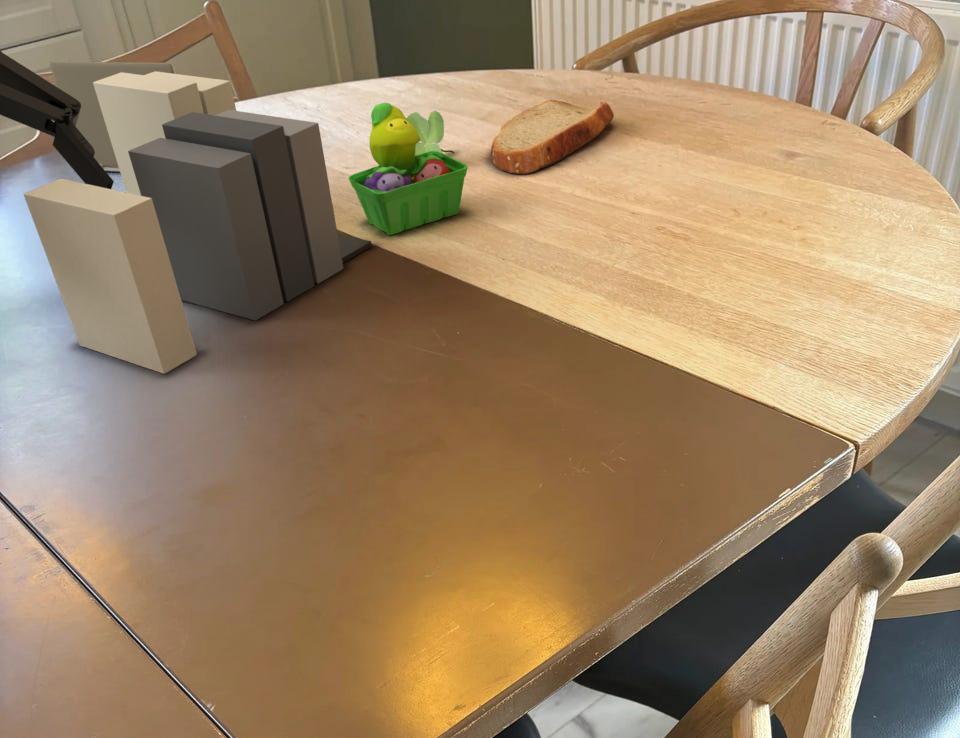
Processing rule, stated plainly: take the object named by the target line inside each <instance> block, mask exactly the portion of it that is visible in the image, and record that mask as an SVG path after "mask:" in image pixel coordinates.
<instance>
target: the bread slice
mask: <svg viewBox="0 0 960 738" xmlns="http://www.w3.org/2000/svg"><path fill="white" fill-rule="evenodd" d="M599 103H600V104H599V106H597V107H594V108H586V107H582V106H578V105H574V104H572V103H569V102H565V101H562V100H557V99H547V100H546V101H543V102H542V103H539V104H537V105H535V106H532V107H530V108H528V109H526V110H522V111H521V112H520V113H519V114H516V115H514V117H512V119H509V120H507V121H506V122H505V123H503V125H502V126H501V127H500V132H499V133H498V134H497V135H496V136H495V137H494V138H493V140H492V144H491V149H490V159H491V162H492V164H493V165H494V166H495V167H496V168H498V169H499V170H501V171H503V172H507V173H509V174H517V175H526V174H531V173H534V172H537V171H539V170H540V169H543V168H546V167H548V166H550V165H554V164H555V163H556V162H558V161H561V160H563V159H564V158H565V156H566V157H567V156H569V155H571V154H572V153H573V152H575V151H578V150H579V149H581V148H582V147H583V146H585V145H587V144H588V143H589V142H590V141H592V140H594V139H596V138H597V137H598V136H599V135H600V134H601V133H602V131H604V129H605V128H606V127H607V125H609V124H610V123H611V121H613V119H614V117H615V113H614V111H613V109H612V107H611V106H610V105H609V103H607V102H606V101H604V102H603V101H599Z"/></svg>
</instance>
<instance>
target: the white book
mask: <svg viewBox="0 0 960 738" xmlns="http://www.w3.org/2000/svg"><path fill="white" fill-rule="evenodd" d="M23 197H24V199H25V202H26V206H27V207H28V210H29V213H30V216H31V218H32V221H33V224H34V227H35V229H36V232H37V234H38V238H39V240H40V243H41V246H42V248H43V251H44V253H45V256H46V258H47V261H48V264H49V266H50V270H51V272H52V274H53V277H54V280H55V283H56V285H57V288H58V291H59V294H60V297H61V299H62V301H63V304H64V307H65V309H66V312H67V314H68V317H69V320H70V323H71V325H72V328H73V331H74V334H75V337H76V340H77V341H78V344H79V346H80V347H83V348H85V349H90V350H92V351H95V352H97V353H101V354H104V355H106V356H110V357H113V358H116V359H119V360H121V361H125V362H128V363H131V364H133V365H137V366H139V367H142V368H144V369H145V368H146V369H149V370H152V371H155V372H157V373H161V374H164V375H166V374H167V373H169V372H170V371H172V370H173V369H176V368H178V367H179V366H181V365H182V364H184V363H186V362H187V361H190V360H191V359H193V358H194V357H196V356H197V355H198V353H197V349H196V346H195V342H194V340H193V336H192V333H191V328H190V326H189V321H188V318H187V316H186V312H185V308H184V305H183V302H182V301H183V300H181V298H180V294H179V291H178V287H177V284H176V280H175V277H174V274H173V270H172V267H171V263H170V260H169V256H168V253H167V249H166V246H165V243H164V239H163V236H162V232H161V229H160V225H159V222H158V218H157V215H156V212H155V208H154V205H153V201H152V198H149V197H144V196H140V195H135V194H130V193H126V191H121V190H116V189H112V188H111V189H107V188H103V187H98V186H93V185H89V184H85V183H84V182H79V181H75V180H74V181H73V180H70V179H64V178H58V179H56V180H54V181H51V182H49V183H46V184H43V185H41V186H39V187H36V188H34V189H31V190H29V191H27V192H24V193H23Z"/></svg>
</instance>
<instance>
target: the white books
mask: <svg viewBox="0 0 960 738" xmlns="http://www.w3.org/2000/svg"><path fill="white" fill-rule="evenodd" d="M93 85H94V88H95V91H96V94H97V98H98V101H99V104H100V107H101V111H102V114H103V117H104V121H105V124H106V127H107V130H108V134H109V137H110V140H111V143H112V147H113V150H114V153H115V157H116V160H117V163H118V166H119V170H120V172H119V173H120V175H121V179H122V183H123V185H124V189H125V192H126V193H130V194H135V195H140V196H141V193H140V190H139V187H138V183H137V180H136V177H135V173H134V170H133V166H132V163H131V160H130V156H129V153H128V151H129V150H132V149H134V148H136V147H139V146H141V145H144V144H146V143H149V142H151V141H154V140H156V139H158V138H165V135H164V131H163V127H162V124H164V123H167V122H169V121H172V120H174V119H177V118H179V117H182V116H184V115H187V114H189V113H192V112H195V113H201V114H208V115H214V116H215V115H217V114H220V113H222V112H225V111H227V110H234V111H237V107H236V102H235V98H234V94H233V89H232V84H231V81H230V80H226V79H218V78H212V77H211V78H210V77H203V76H194V75H187V74H179V73H174V74H172V73H164V72H157V71H155V72H152V73H149V74H146V75H137V74H130V73H122V72H121V73H118V74H115V75H112V76H110V77H107V78H104V79H101V80H98V81H95V82H93ZM165 139H166V138H165Z"/></svg>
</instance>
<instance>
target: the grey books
mask: <svg viewBox="0 0 960 738" xmlns="http://www.w3.org/2000/svg"><path fill="white" fill-rule="evenodd" d="M162 127H163V131H164V135H165V138H166V139H165V138H158V139H156V140H154V141H151V142H149V143H146V144H144V145H141V146H139V147H136V148H134V149H132V150H129V151H128V153H129V156H130V160H131V163H132V166H133V170H134V173H135V177H136V180H137V183H138V187H139V190H140V193H141V196H144V197H149V198H152V201H153V205H154V208H155V212H156V215H157V218H158V222H159V225H160V229H161V232H162V236H163V239H164V243H165V246H166V249H167V253H168V256H169V260H170V263H171V267H172V270H173V274H174V277H175V280H176V284H177V287H178V291H179V294H180V298H181V301H184V302H187V303H191V304H194V305H198V306H202V307H205V308H208V309H212V310H215V311H219V312H223V313H227V314H230V315H234V316H236V317H241V318H243V319H247V320H252V321H255V322H256V321H258V320H259V319H262V318H263V317H264V316H267V314H270V313H271V312H273V311H274V310H277V309H278V308H280V307H281V306H283V305H284V302H287V303H288V302H290V301H292V300H293V299H295V298H297V297H298V296H300V295H301V294H303V293H305V292H307V291H309V290H311V289H312V288H314V287H315V284H316V285H319V284H320V283H322V282H324V281H325V280H327V279H329V278H330V277H333V276H334V275H336V274H338V273H339V272H341V271H342V270H344V263H346V262H348V261H350V260H352V259H353V258H355V257H357V256H359V255H360V254H362V253H363V252H366V251H367V250H369V249H370V248H372V247H373V243H372V241H371V240H367V239H363V238H357V237H353V236H349V235H343V234H339V233H338V229H337V223H336V217H335V212H334V205H333V201H332V195H331V189H330V188H331V187H330V183H329V177H328V176H329V175H328V170H327V166H326V159H325V153H324V148H323V142H322V136H321V130H320V123H318V122H315V121H307V120H301V119H294V118H288V117H287V118H286V117H281V116H274V115H267V114H261V113H253V112H247V111H240V110H236V111H234V110H227V111H225V112H222V113H220V114H217V115H215V116H214V115H208V114H201V113H195V112H192V113H189V114H187V115H184V116H182V117H179V118H177V119H174V120H172V121H169V122H167V123H164V124H162Z"/></svg>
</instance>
